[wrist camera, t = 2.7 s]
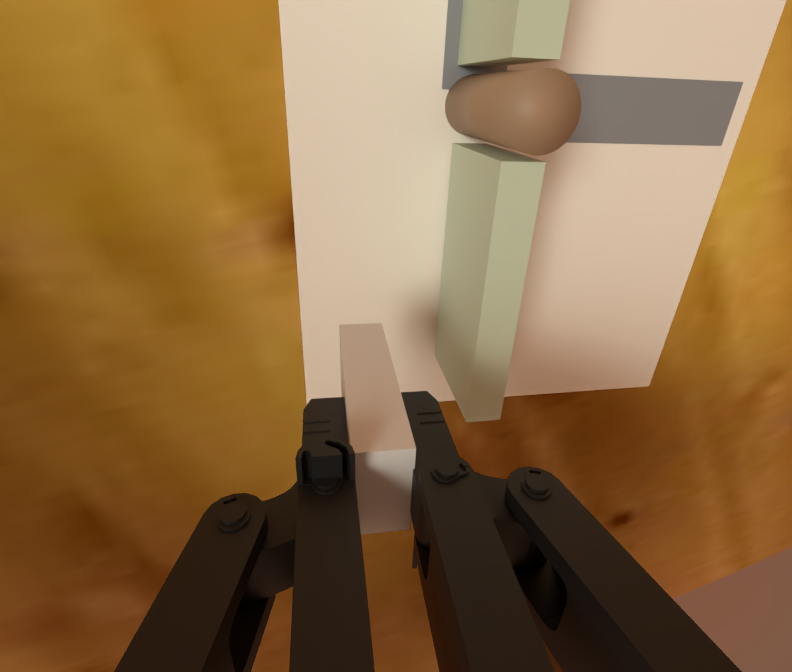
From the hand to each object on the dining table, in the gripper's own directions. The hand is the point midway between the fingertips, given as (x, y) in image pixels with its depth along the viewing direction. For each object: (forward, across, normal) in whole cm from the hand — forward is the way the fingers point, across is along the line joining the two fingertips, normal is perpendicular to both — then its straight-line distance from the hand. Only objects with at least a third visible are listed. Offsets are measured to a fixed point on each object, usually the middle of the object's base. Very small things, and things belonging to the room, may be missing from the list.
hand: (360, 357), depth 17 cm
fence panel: (+7, +6, +1) cm, 9 cm away
